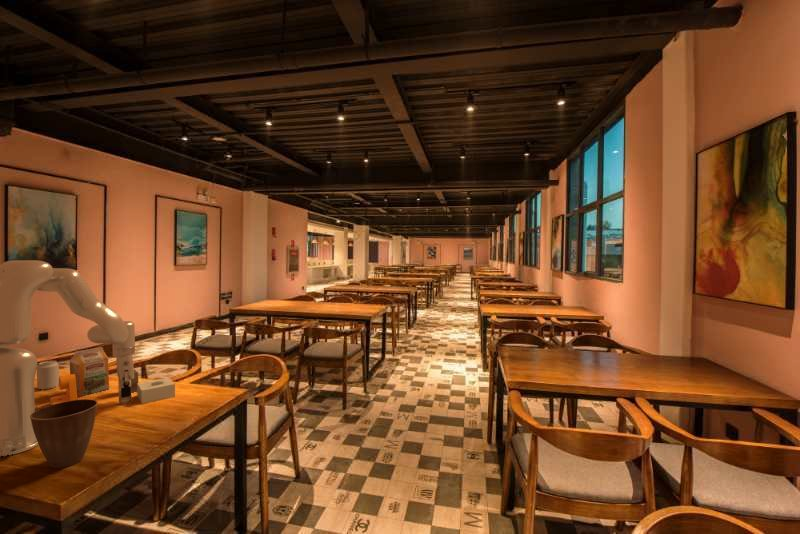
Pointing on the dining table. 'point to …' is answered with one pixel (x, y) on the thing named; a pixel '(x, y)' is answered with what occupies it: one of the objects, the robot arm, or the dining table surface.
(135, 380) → the walnut square bit
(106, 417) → the dining table surface
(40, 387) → the can
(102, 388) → the milk carton
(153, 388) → the bore block
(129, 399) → the birch dowel
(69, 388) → the bracket
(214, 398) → the dining table surface
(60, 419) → the plant pot
